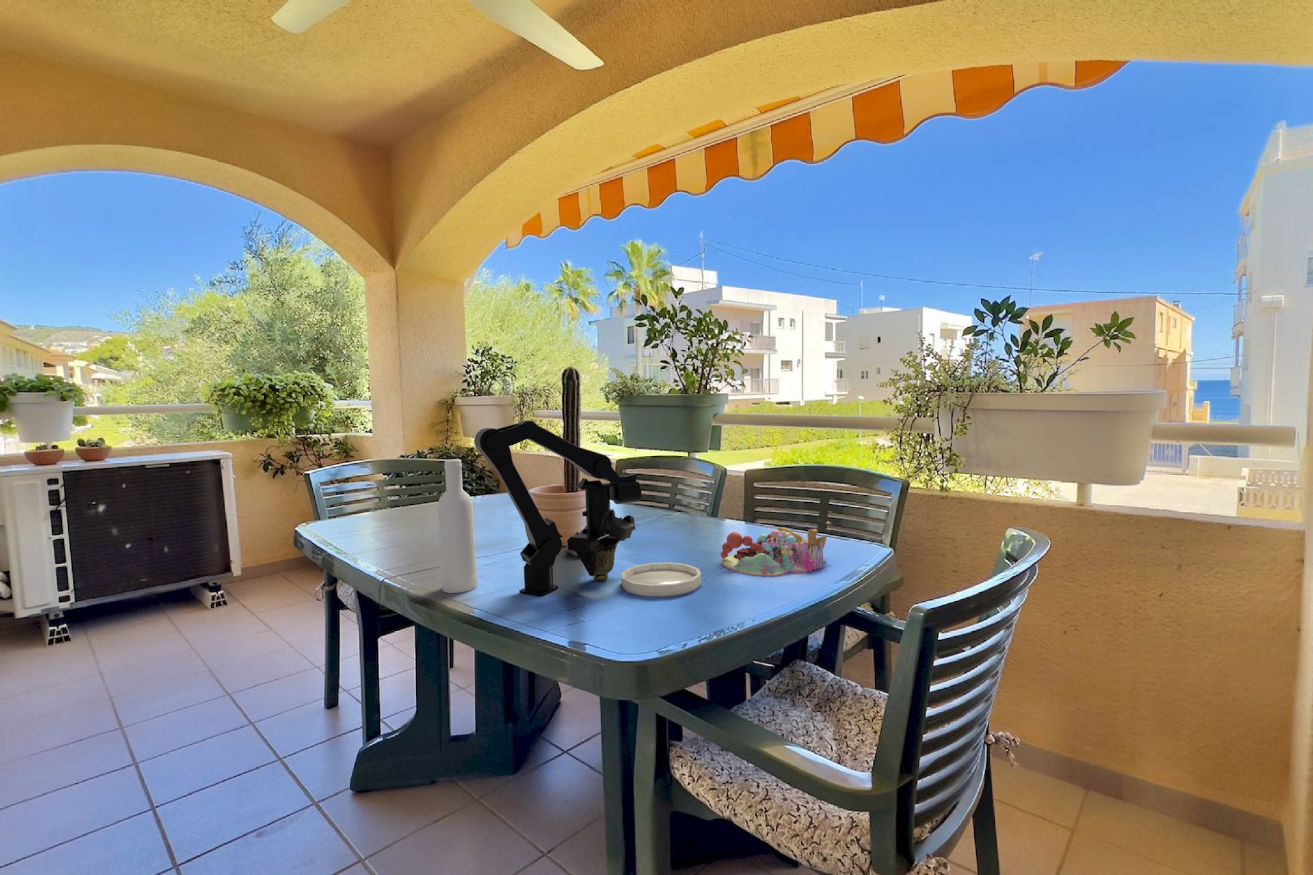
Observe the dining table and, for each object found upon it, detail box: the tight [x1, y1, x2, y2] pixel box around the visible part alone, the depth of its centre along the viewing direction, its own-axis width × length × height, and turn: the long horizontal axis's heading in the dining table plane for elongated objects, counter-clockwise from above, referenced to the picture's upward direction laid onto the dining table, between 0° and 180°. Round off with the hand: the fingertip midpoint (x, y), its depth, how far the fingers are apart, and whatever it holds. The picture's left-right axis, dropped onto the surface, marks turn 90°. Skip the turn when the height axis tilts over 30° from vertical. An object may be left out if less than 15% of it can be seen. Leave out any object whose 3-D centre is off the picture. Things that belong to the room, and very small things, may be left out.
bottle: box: [436, 458, 478, 594], centre depth 139 cm, size 8×8×30 cm
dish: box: [621, 561, 703, 598], centre depth 138 cm, size 18×18×2 cm
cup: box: [592, 543, 616, 582], centre depth 143 cm, size 8×7×8 cm
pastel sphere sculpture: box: [720, 526, 828, 577], centre depth 153 cm, size 25×24×9 cm
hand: (600, 571), depth 143 cm, fingers open, 7 cm apart
